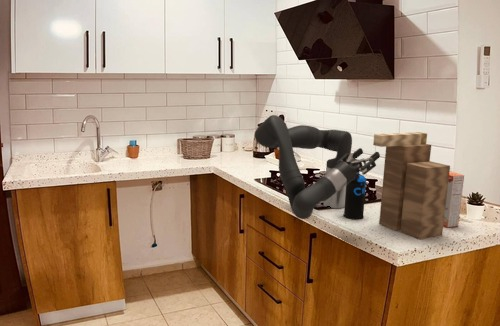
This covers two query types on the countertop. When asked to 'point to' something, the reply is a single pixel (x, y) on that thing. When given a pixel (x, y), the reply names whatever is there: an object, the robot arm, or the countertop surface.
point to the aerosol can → (355, 197)
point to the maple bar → (400, 139)
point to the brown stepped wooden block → (413, 191)
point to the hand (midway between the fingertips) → (370, 151)
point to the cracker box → (453, 200)
